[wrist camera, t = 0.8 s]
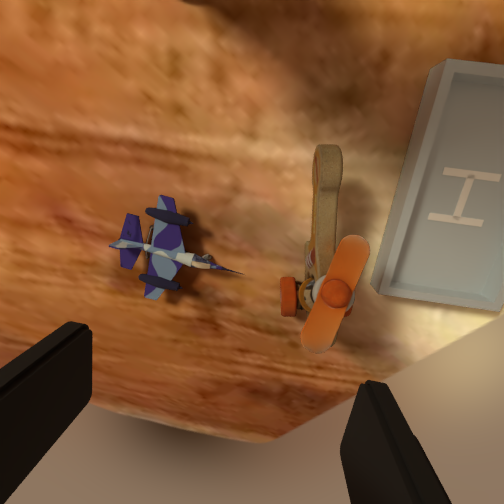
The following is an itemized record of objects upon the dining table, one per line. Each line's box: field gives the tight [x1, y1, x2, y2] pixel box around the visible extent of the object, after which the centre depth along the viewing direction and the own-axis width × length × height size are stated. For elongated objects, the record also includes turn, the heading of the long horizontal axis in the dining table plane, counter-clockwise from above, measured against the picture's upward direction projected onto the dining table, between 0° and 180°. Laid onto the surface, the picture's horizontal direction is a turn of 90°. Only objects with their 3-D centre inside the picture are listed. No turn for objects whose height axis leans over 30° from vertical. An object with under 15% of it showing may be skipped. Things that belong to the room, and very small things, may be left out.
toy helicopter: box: [280, 144, 370, 354], centre depth 28 cm, size 8×21×14 cm, turn 2°
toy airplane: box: [109, 195, 245, 300], centre depth 35 cm, size 13×14×4 cm
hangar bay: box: [370, 58, 504, 312], centre depth 31 cm, size 24×14×3 cm, turn 173°
